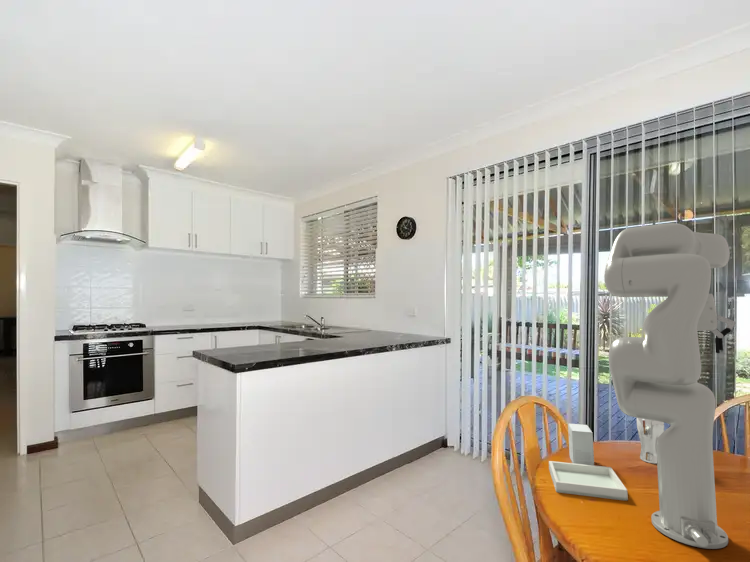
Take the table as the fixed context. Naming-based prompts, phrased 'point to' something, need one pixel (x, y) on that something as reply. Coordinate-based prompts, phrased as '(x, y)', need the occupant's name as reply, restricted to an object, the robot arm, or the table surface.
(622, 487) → the carrier tray
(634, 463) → the table surface
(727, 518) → the table surface
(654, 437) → the beer glass
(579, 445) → the small box
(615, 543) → the table surface
